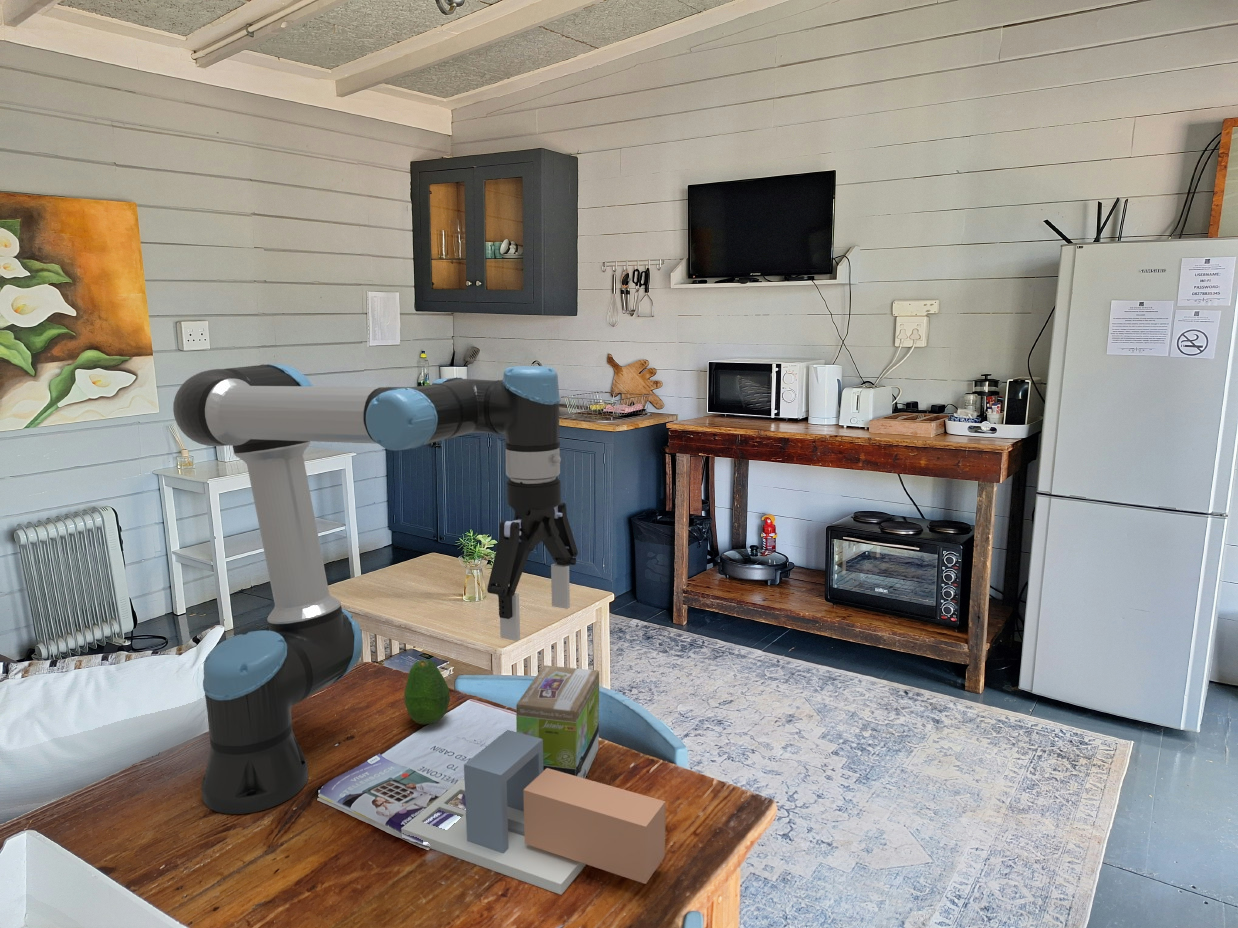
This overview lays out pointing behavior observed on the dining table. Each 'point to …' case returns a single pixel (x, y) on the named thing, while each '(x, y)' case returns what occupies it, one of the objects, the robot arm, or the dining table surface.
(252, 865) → the dining table surface
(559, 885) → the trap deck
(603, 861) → the terracotta clay brick
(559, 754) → the tea box
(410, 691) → the avocado
